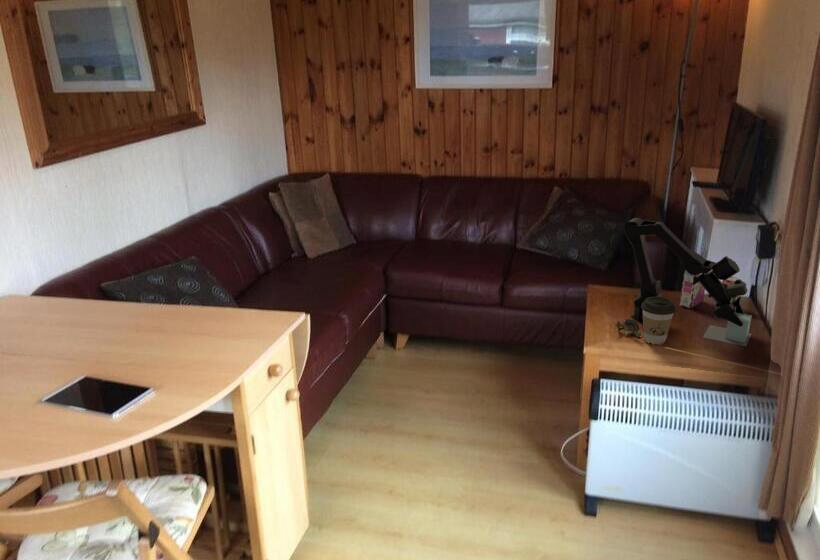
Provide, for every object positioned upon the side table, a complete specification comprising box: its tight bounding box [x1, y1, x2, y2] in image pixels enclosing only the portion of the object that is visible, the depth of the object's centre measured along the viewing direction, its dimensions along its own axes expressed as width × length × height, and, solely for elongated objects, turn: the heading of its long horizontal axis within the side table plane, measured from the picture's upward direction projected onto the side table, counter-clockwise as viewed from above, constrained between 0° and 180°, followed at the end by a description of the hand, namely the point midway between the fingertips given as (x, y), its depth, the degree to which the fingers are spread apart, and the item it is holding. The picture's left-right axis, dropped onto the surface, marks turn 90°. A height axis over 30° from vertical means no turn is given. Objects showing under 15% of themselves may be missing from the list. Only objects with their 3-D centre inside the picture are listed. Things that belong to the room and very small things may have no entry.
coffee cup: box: [641, 296, 676, 345], centre depth 227 cm, size 11×11×15 cm
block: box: [725, 313, 753, 343], centre depth 227 cm, size 6×6×8 cm
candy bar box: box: [679, 268, 706, 309], centre depth 257 cm, size 11×5×16 cm, turn 133°
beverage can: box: [721, 275, 739, 298], centre depth 254 cm, size 6×6×12 cm
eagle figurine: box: [614, 317, 642, 338], centre depth 234 cm, size 8×7×9 cm
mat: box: [702, 324, 752, 347], centre depth 230 cm, size 14×12×3 cm
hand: (743, 322), depth 226 cm, fingers closed on block, 6 cm apart
